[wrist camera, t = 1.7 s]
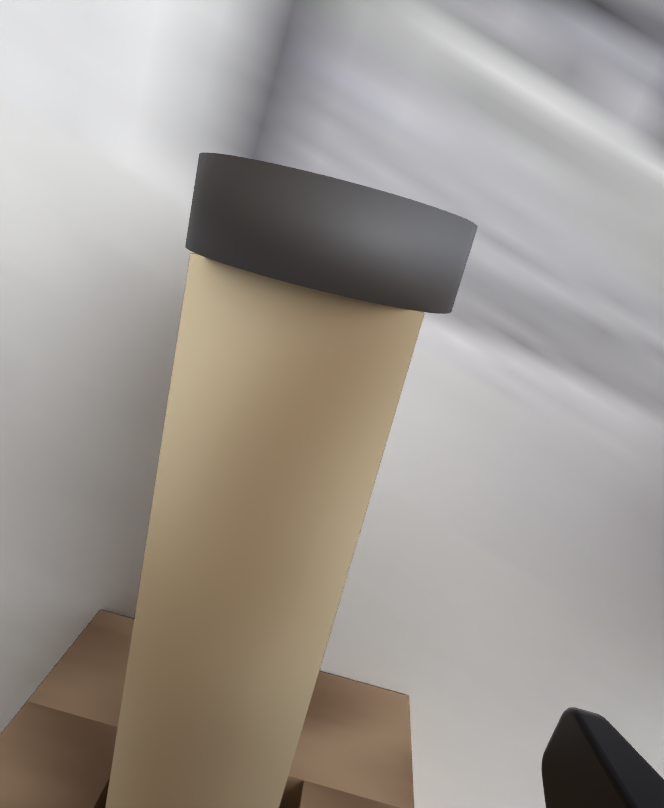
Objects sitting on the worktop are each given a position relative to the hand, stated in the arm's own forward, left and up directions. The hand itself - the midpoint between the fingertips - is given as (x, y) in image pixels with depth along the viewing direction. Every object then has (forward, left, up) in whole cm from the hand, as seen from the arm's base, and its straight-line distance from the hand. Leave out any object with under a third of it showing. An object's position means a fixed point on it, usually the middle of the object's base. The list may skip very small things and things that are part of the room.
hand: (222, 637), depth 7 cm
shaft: (0, +6, -5) cm, 7 cm away
